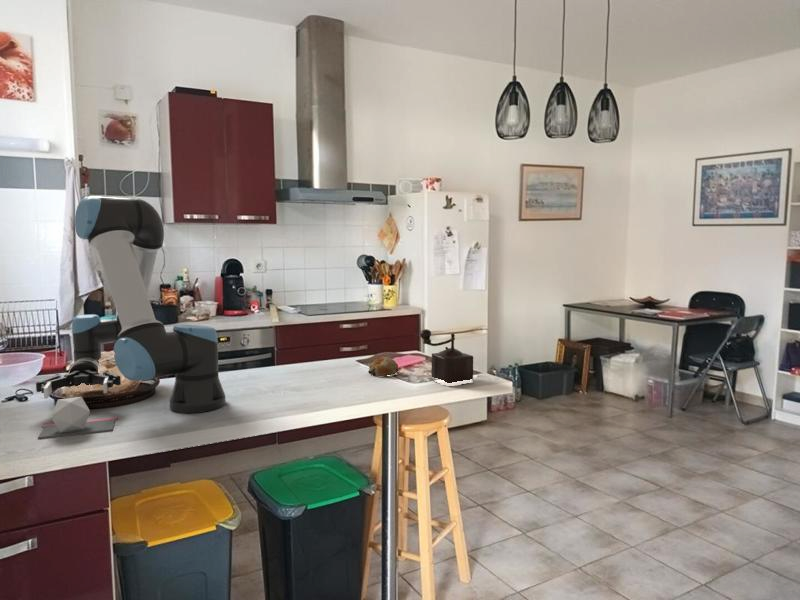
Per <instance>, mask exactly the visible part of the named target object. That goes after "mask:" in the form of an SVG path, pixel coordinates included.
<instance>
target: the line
mask: <svg viewBox="0 0 800 600" xmlns="http://www.w3.org/2000/svg"><path fill="white" fill-rule="evenodd" d="M118 419H119V417H118V416H113V417H105V418H104V417H103V418H95V419H94V418H93V419H87V421H86V423H88V422H98V421H108V420H115V421H117V420H118ZM49 426H56V425H55V423H54V422H53V423H45V424H43V425H42V428H44V427H49Z"/></svg>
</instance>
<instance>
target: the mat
mask: <svg viewBox="0 0 800 600" xmlns="http://www.w3.org/2000/svg"><path fill="white" fill-rule="evenodd" d="M115 423H116V420H108V421H98V422H88V423H86V424H85V427H84V430H77V431H71V432H64V433H60V432H59V430H58V428H57V427H56V426H49V427H44V428H43V427H42V428H43V429H42V430H41V432H40V433H39V434H38V436H37V439H38V440H41V439H48V438H49V439H51V438H60V437H69V436H77V435H85V434H95V433H105V432H112V431H114V425H115Z"/></svg>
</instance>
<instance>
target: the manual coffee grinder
mask: <svg viewBox="0 0 800 600" xmlns="http://www.w3.org/2000/svg"><path fill="white" fill-rule="evenodd" d="M450 334H451V335H450V339H447V340H444V341H441V342H437V343H436V342H435V343H432V340H431V336H432V331H431V330H429V329H426V328H425V329H422V330H421V331H419V336H420V338H421V339H422V341H423V342H422V344H424V345H427V346H431V347H438V346H442V345H445V344H449V343H450V348H449V347H447V346H445V349H444V350H441V351H439V352H435V353H433V352H432V353H431V374H430V375H431V376H432V377H434V378H438V379H441V380H444V381H445V382H447V383H452V382H457V381H463V380H470V379H473V380H474V356H473V355H471V354H468V353H464V352H461V351H460V350H459V349H456V348H455V340H456V337H455V336H456V335H455V333H454V332H453V333H450Z"/></svg>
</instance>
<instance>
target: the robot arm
mask: <svg viewBox="0 0 800 600" xmlns="http://www.w3.org/2000/svg"><path fill="white" fill-rule="evenodd" d="M74 229H75V233H76V235H77V236H78V238H79V239H82V240H87V242H88V243H89V246H90V249H91V250H93V251H95V252H97V253H98V255H99V259H100V262H101V266H102V268H103V272H104V275H105V278H106V281H107V285H108V287H109V288H108V289H109V291H110V295H111V297H112V301H113V303H114V307H115V310H116V314H117V315H116V317H115V318H108V319H107V318H106V319H101V318H100V316H99V315H98V314H80V315H79V314H78V315H75V316H74V317H73V318H72V322H71V323H72V324H71V329H72V330H71V333H72V344H73V345H72V346H73V362H74V363H73V364H72V367H70V369H69V372H68V373H67V374H64V375H63V376H62V375H61V374H59V373H55V374H54V375H52V376H49V377H48V378H45V379H41V380H40V381H37V382H35V387H36V388H35V390H36V392H37V393H40V392H41V394H43V397H44V400H45V399H48V398H49V397H50V395H51V394H52V392H53V391H55V390H58V389H61V388H65V387H67V388H71V387H76V386H78V385H80V384H81V383H85V384H86V385H89V384H90V385H92V386H95V385H99V386H102V387H103V394H108V390H109V389H110V388H113V387H114V385H115V386H121V385H122V383H121V382H122V381H121V379H122V378H121V375H122V376H123V377H124V378H125V379H127V380H129V381H131V382H140V381H151V380H153V379H158V378H163V377H168V376H172V375H175V376H174V377H175V381H174V385H173V386H172V387H173V389H172V391H171V394H170V398H169V409H170V410H172V411H173V412H175V413H182V414H183V413H184V414H185V413H186V414H195V413H205V412H211V411H215V410H217V409H220V408H222V407H224V406H225V405H226V399H227V398H226V393H225V391H224V389H223V386H222V383H221V381H220V377H219V350H218V349H219V348H218V344H219V341H218V339H219V338H218V333H217V330H216V329H215V328H214V327H212V326H208V325H206V326H205V325H197V324H196V325H195V324H175V325H174V326H173V328H172V331H169V332H167V330H166V328H165V325H164V323H163V322H162V321H160V320H157V319H156V316H155V313H154V310H153V307H152V304H151V301H150V297H149V291H150V287H151V286H150V285H151V281H152V277H153V272H154V267H155V263H156V259H157V254H158V251H159V250H160V249H161V248H162V247H163V243H164V239H165V238H164V237H165V229H164V223H163V220H162V218H161V216H160V214H159V212H158V211H157V209H156V208H155V207H154V206H153V205H151V204H150V203H149V202H147V201H146V200H144V199H141V198H135V197H134V198H133V197H131V198H129V197H127V198H126V197H110V196H109V197H106V196H100V195H97V196H84V197H82V199H81V200H80V201H79V202H78V205H77V207H76V210H75V217H74ZM112 343H114V346H113V353H114V354H113V357H114V362H115V365H116V367H117V369H118V371H119V373H120V374H121V375H119V374H116V373H113V372H111V371H110V370H108V369H107V370H105V371H102V373H98V366H99V361H98V360H99V359H100V358H101V357H102V345H105V344H112Z"/></svg>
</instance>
